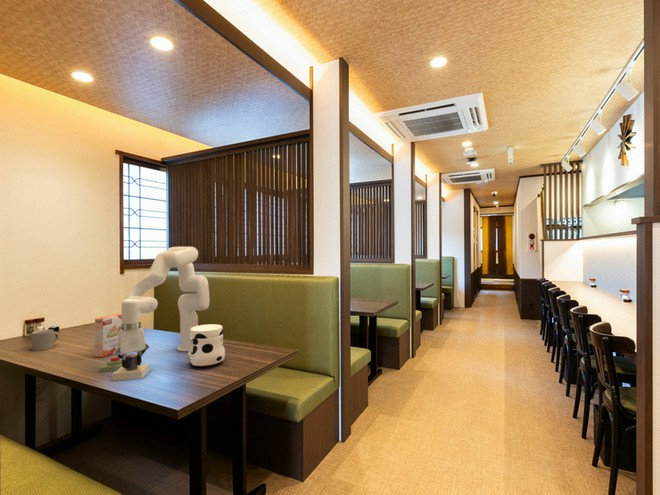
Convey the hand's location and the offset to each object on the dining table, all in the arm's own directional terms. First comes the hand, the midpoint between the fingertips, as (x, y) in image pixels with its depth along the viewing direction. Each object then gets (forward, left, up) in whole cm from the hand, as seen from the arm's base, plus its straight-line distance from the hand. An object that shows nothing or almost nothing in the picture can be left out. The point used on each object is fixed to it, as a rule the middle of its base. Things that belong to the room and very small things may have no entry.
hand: (131, 366), depth 154 cm
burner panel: (0, 0, -4) cm, 4 cm away
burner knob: (0, 0, -1) cm, 1 cm away
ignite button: (+12, -12, -1) cm, 17 cm away
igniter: (+12, -12, -4) cm, 17 cm away
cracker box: (+26, -39, -4) cm, 47 cm away
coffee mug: (+70, -61, -4) cm, 93 cm away
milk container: (-31, -9, -4) cm, 33 cm away
